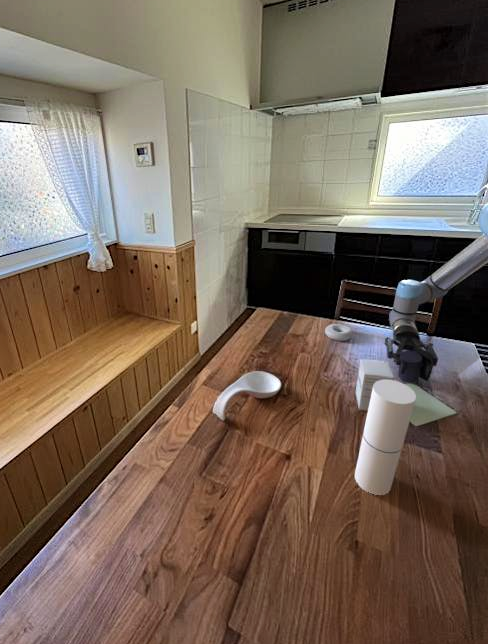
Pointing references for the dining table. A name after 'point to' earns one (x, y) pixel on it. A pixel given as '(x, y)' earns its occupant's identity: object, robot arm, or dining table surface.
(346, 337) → the donut
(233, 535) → the dining table surface
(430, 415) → the felt mat
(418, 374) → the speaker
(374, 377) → the white packaging box
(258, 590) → the dining table surface
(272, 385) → the spoon rest
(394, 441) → the cylindrical container
